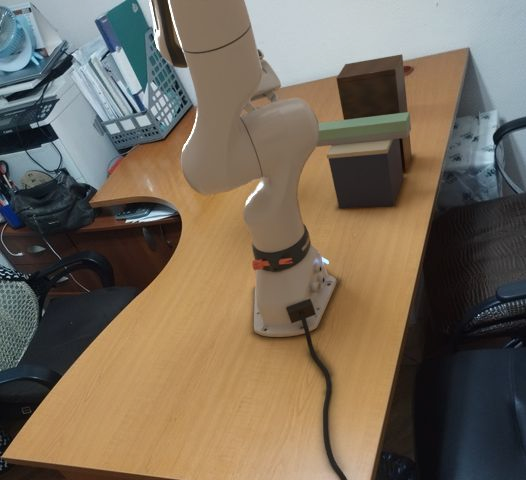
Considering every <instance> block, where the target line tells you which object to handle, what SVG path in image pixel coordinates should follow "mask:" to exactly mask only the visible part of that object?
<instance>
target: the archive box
mask: <svg viewBox="0 0 526 480" xmlns="http://www.w3.org/2000/svg"><path fill="white" fill-rule="evenodd" d="M326 159H328V163H329V168H330V173H331V177H332V183H333V188H334V192H335V196H336V201H337V205H338V209H354V208H355V209H356V208H377V207H379V208H380V207H394V206H395V203H396V201H397V198H398V195H399V192H400V189H401V187H402V185H403V181H404V173H403V170H402V161H401V151H400V142H399V139H389V140H380V141H370V142H360V143H350V144H340V145H330V147H329V149H328V151H327V153H326Z"/></svg>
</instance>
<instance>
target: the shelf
mask: <svg viewBox="0 0 526 480" xmlns="http://www.w3.org/2000/svg"><path fill="white" fill-rule="evenodd" d="M336 84H337V90H338V95H339V100H340V107H341V111H342V117H343V118H342V119H343V120H348V119H356V118H364V117H373V116H381V115H389V114H397V113H405V112H409V110H408V101H407V89H406V80H405V69H404V58H403V53H402V54H396V55H391V56H384V57H379V58H378V57H377V58H373V59H367V60H361V61H355V62H350V63H345V64H344V66H343V67H342V69H341V70H340V72H339V74H338V75H337V77H336ZM399 142H400V151H401V161H402V170H403V174H405V173H407V171H408V167H409V165H410V162H411V161H412V156H413V155H412V144H411V143H412V142H411V133H409V135H408V138H399Z"/></svg>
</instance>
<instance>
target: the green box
mask: <svg viewBox="0 0 526 480" xmlns="http://www.w3.org/2000/svg"><path fill="white" fill-rule="evenodd" d="M411 123H412V122H411V112H410V111H408V112H405V113H397V114H389V115H381V116H373V117H364V118H356V119H348V120H344V119H342V120H332V121H325V122H318V124H319V139H318V143H317V146H316V148H319V147H328V146H330V147H331V145H340V144H350V143H360V142H370V141H380V140H389V139H399V138H408V135H409V133H410V132H411V130H412V124H411ZM410 134H411V133H410Z"/></svg>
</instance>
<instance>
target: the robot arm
mask: <svg viewBox="0 0 526 480" xmlns="http://www.w3.org/2000/svg"><path fill="white" fill-rule="evenodd" d="M148 5H149V8H150V14H151V18H152V24H153V38H154V39H153V40H154V42H155V45H156V48H157V50H158V52H159V54H160V55H161V56H162V58H163V59H164V60H165V62H166V63H168V64H169V66H171V67H173V68H179V69H188V71H189V74H190V78H191V81H192V85H193V88H194V93H195V98H196V112H195V113H196V114H195V120H194V124H193V127H192V130H191V133H190V134H189V137H188V139H187V140H186V141H185V143H184V145H183V147H182V149H181V154H180V169H181V172H182V174H183V177H184V180H185V181H186V183H187V184H188V185H189V186H190V188H191V189H193V190H194V191H195V192H196V193H197V194H200V195H202V196H205V197H209V196H212V195H213V196H214V195H219V194H224V193H228V192H229V193H230V192H232V191H233V190H237V189H238V188H240V187H243V186H245V185H248V184H250V183H252V182H255V181H257V180H259V181H258V183H257V185H256V187H255V188H254V189H253V191H251V192H250V194H249V195H248V196H247V198H246V200H245V203H244V206H243V209H242V216H243V221H244V224H245V226H246V229H247V231H248V234H249V237H250V240H251V249H252V255H253V257H254V260H252V262H251V267H252V269H253V271H255V287H254V304H253V305H254V307H253V308H254V309H253V330H254V333H256V334H257V335H260V336H263V337H269V338H286V337H295V336H301V335H303V334H304V335H305V338H306V343H307V347H308V350H309V353H310V355H311V357H312V359H313V361H314V362H315V363H316V364H317V366H318V367H319V368H320V369H321V371H322V372H323V375H324V377H325V382H326V383H325V384H326V391H325V396H324V402H323V406H322V407H323V409H322V431H323V432H322V437H323V444H324V449H325V452H326V457H327V459H328V462H329V464H330V466H331V468H332V469H333V470H334V473H336V475H337V476H338V478H339V479H340V480H348V478H347V476H346V475H345V473H344V472H343V470H342V469H341V467H340V466H339V465H338V463H337V462H336V459H335V457H334V454H333V451H332V448H331V443H330V435H329V433H330V432H329V405H330V400H331V395H332V378H331V376H330V375H331V374H330V372H329V370H328V369H327V367H326V366H325V364H324V363H323V362H322V361H321V359H320V358H319V356H318V355H317V353H316V350H315V349H314V345H313V342H312V341H313V340H312V337H311V332H312V331H314V330H316V329H317V328H318V326H319V324H320V322H321V320H322V318H323V316H324V313H325V311H326V308H327V306H328V304H329V302H330V300H331V297H332V295H333V292H334V291H335V289H336V286H337V283H338V282H337V279H336V277H334V276H332V275H330V274H328V270H327V267H326V265H329V264H330V262H329V260H328V259H326V258H324V257H323V255H322V253H321V251H319V250H318V249H317V248H315V246H313V245H312V243H311V236H310V232H309V230H308V227H307V226H306V225H305V223H304V221H303V216H302V212H301V209H300V202H299V193H298V192H299V184H300V180H301V176H302V173H303V170H304V168H305V165H306V163H307V161H308V160H309V158H310V157H311V155H312V154H313V153H314V151H315V150H316V148H317V147H316V146H317V143H318V139H319V124H318V123H319V119H318V117H317V115H316V113H315V111H314V110H313V108H312V107H311V106H310V105H309V104H308V102H306V101H305V100H303V99H302V98H299V97H292V98H286V99H281V100H279V94H278V91H279V90H280V88H281V87H282V84H281V80H280V78H279V77H278V75H277V73H276V72H275V70H274V68H272V65H270V63H268V61H267V60H265V59H264V57H265V55H264V53H263V51H262V50H261V49H259V48H258V46H257V42H256V38H255V35H254V30H253V27H252V23H251V19H250V16H249V12H248V8H247V4H246V1H245V0H148ZM265 98H267V100H268V101H270V102H269V103H267V104H265V105H263V106H260V107H259V106H257V107H256V105H254V104H253V102H256V101H258V100H262V99H265ZM243 110H244V111H246V113H244V114H242V112H243ZM240 115H241V116H240Z"/></svg>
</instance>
